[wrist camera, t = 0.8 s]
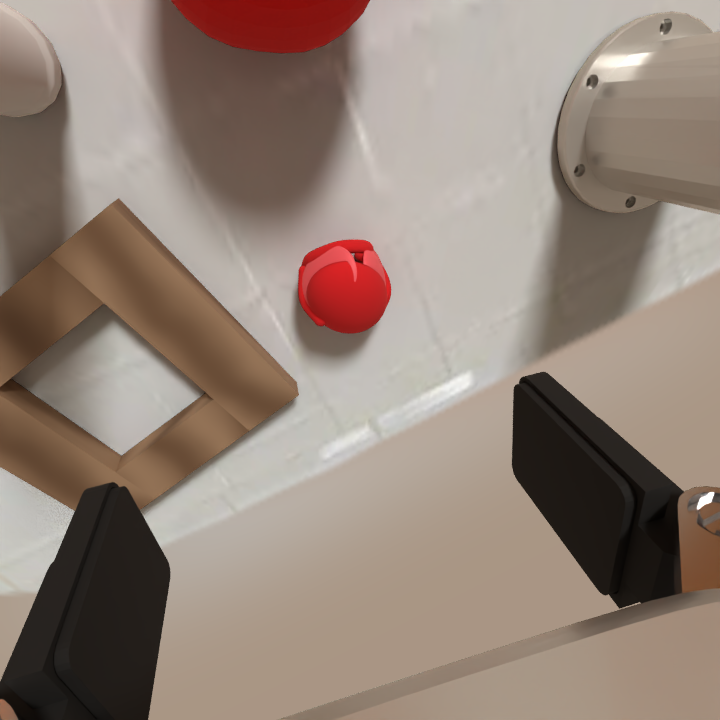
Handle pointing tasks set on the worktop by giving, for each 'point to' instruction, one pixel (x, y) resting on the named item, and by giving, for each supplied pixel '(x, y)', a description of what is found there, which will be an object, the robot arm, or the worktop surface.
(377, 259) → the red rounded piece
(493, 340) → the worktop surface
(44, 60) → the bottle
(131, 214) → the walnut board
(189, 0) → the tomato
